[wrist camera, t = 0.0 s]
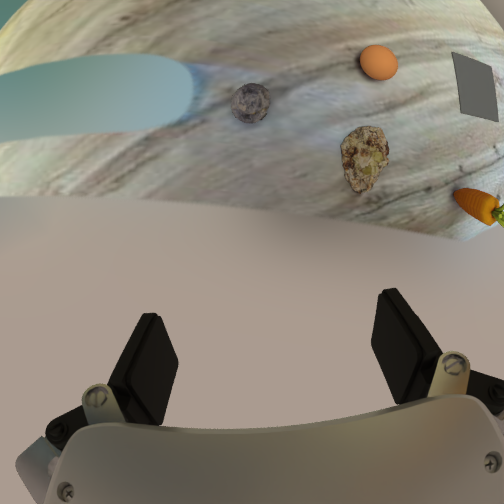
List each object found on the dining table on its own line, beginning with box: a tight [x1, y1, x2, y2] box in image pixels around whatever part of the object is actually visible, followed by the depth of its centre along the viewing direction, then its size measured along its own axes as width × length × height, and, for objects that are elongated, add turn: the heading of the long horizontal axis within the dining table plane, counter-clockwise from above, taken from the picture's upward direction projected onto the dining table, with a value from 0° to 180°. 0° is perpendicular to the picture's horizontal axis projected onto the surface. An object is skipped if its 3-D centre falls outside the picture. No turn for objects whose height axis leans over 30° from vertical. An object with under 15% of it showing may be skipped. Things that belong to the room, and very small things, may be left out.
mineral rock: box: [341, 126, 389, 194], centre depth 37 cm, size 11×4×8 cm
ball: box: [360, 45, 398, 80], centre depth 28 cm, size 6×6×6 cm
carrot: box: [453, 188, 504, 227], centre depth 32 cm, size 5×5×15 cm
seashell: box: [231, 83, 270, 123], centre depth 30 cm, size 5×5×10 cm
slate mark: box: [452, 52, 499, 122], centre depth 29 cm, size 12×12×1 cm
